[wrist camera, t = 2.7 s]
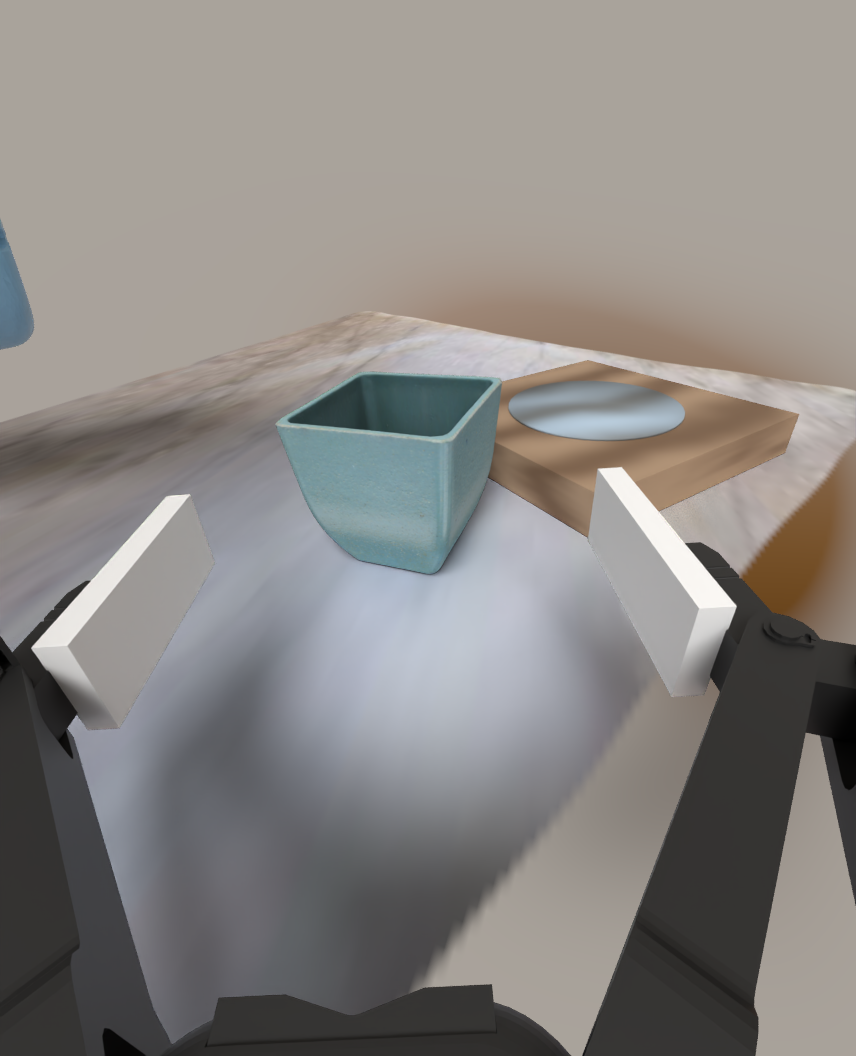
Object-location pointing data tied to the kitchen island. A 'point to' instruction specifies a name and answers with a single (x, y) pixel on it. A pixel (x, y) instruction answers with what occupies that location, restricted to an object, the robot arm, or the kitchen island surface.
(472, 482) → the flower pot
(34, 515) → the kitchen island surface
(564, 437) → the walnut plinth
